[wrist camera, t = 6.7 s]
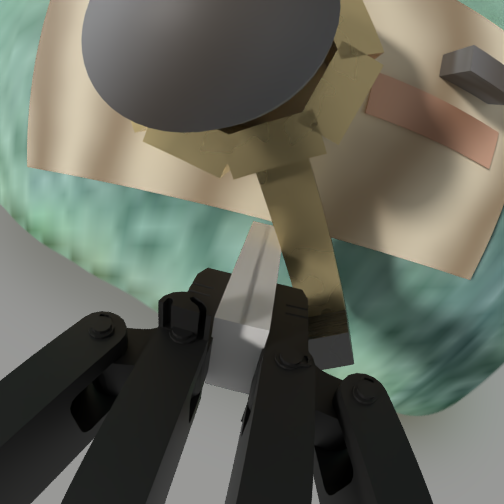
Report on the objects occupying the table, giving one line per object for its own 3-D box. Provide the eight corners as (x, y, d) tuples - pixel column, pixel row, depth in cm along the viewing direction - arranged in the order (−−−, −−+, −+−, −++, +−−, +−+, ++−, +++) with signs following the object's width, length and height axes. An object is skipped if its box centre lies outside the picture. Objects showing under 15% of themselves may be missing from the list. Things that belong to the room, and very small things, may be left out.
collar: (144, 26, 10) (84, 4, 6) (314, -35, 8) (315, -90, 4) (253, 316, 17) (236, 379, 12) (403, 284, 14) (430, 345, 10)
